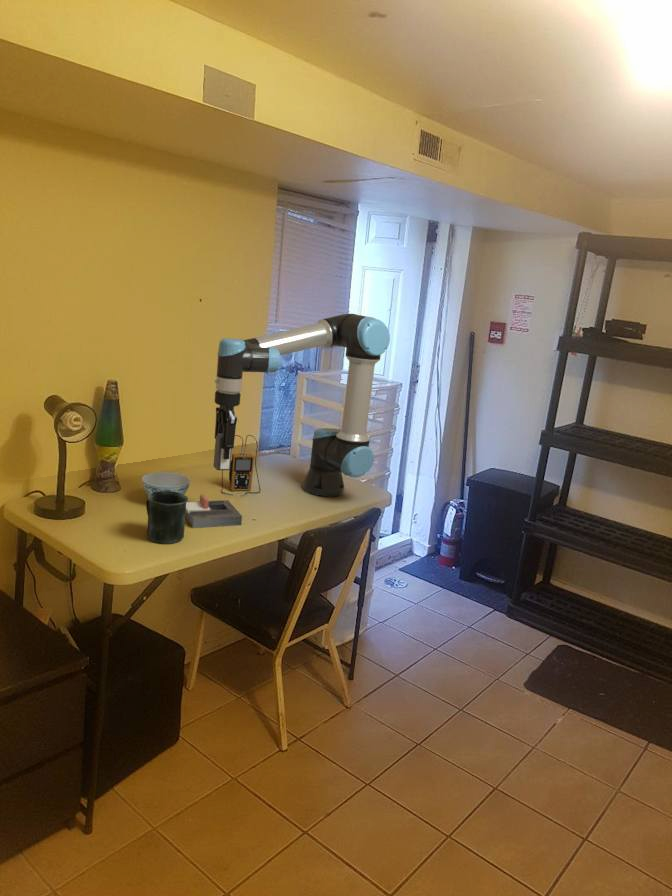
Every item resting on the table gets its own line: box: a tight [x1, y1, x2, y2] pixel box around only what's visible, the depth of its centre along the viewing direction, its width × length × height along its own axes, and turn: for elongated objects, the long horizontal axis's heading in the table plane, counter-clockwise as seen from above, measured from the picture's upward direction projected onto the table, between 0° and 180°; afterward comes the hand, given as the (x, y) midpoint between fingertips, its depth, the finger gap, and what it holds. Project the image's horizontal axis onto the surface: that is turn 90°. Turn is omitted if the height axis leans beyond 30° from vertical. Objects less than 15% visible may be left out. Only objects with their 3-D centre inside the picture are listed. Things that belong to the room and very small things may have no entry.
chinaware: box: [141, 471, 191, 496], centre depth 222 cm, size 15×15×8 cm
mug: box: [145, 491, 189, 545], centre depth 196 cm, size 11×15×12 cm
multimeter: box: [221, 434, 261, 498], centre depth 238 cm, size 15×10×20 cm
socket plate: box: [185, 499, 243, 529], centre depth 214 cm, size 15×14×4 cm
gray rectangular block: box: [213, 433, 233, 471], centre depth 211 cm, size 4×4×11 cm
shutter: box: [186, 494, 210, 513], centre depth 212 cm, size 7×7×3 cm
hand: (221, 466), depth 212 cm, fingers closed on gray rectangular block, 4 cm apart
